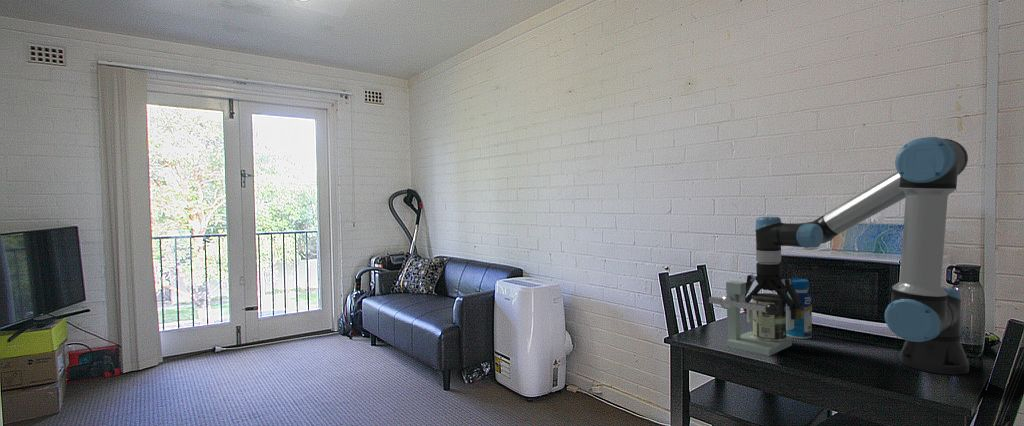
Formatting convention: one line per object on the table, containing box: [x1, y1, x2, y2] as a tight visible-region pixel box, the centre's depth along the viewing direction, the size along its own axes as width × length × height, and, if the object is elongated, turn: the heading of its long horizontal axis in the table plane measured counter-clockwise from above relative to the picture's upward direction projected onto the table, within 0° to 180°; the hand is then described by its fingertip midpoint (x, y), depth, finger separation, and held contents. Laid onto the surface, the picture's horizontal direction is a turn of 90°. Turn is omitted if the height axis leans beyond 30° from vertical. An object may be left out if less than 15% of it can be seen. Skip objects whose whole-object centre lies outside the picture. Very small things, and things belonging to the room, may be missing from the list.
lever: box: [708, 295, 778, 315], centre depth 161 cm, size 22×4×4 cm, turn 38°
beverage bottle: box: [786, 277, 813, 340], centre depth 175 cm, size 8×8×20 cm
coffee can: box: [751, 292, 787, 342], centre depth 167 cm, size 10×10×14 cm
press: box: [725, 280, 793, 357], centre depth 166 cm, size 15×18×21 cm
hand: (769, 325), depth 167 cm, fingers open, 13 cm apart
